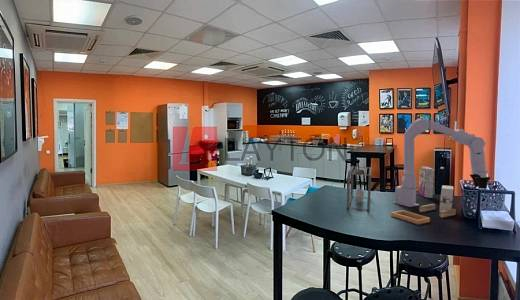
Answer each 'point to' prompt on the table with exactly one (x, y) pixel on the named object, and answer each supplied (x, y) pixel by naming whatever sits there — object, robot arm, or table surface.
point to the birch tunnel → (442, 213)
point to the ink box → (446, 198)
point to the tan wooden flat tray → (410, 217)
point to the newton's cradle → (359, 192)
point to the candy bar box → (426, 182)
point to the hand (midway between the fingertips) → (480, 190)
